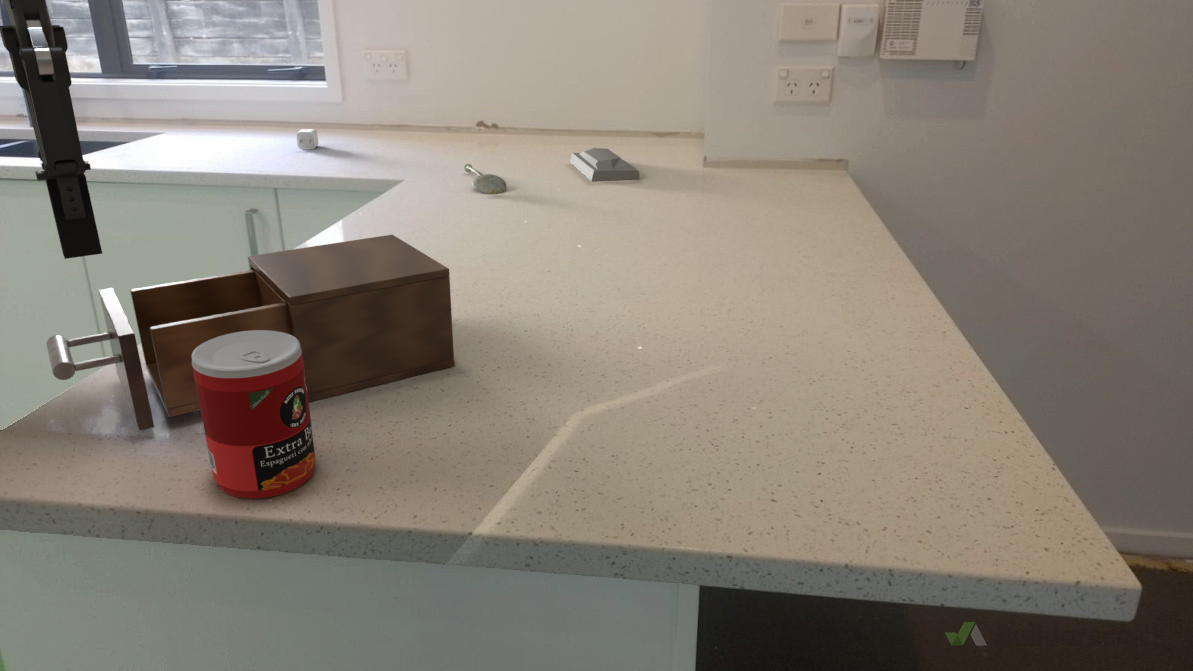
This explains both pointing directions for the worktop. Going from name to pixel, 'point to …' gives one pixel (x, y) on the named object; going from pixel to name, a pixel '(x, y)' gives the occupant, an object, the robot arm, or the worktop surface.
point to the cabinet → (363, 311)
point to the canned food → (255, 412)
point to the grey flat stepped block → (603, 165)
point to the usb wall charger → (307, 139)
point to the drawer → (173, 335)
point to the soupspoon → (486, 181)
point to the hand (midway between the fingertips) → (82, 253)
